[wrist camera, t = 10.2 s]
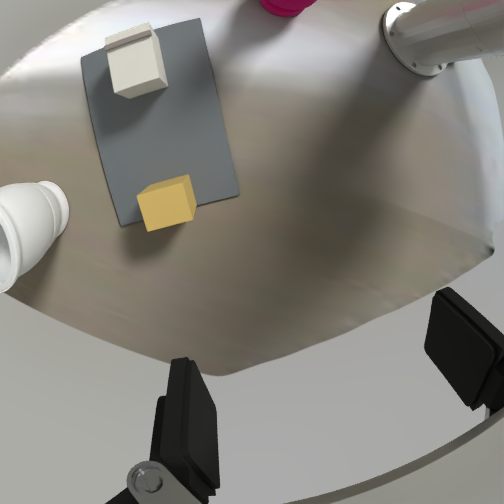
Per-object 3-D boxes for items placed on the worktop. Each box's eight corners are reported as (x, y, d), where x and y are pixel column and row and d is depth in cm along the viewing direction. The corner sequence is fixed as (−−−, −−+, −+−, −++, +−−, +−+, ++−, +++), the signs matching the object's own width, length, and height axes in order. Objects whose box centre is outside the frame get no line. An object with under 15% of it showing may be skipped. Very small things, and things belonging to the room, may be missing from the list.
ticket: (158, 38, 28) (148, 20, 22) (168, 86, 31) (159, 76, 25) (120, 51, 28) (102, 37, 22) (129, 99, 31) (112, 92, 25)
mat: (200, 18, 28) (199, 17, 28) (239, 194, 37) (239, 194, 37) (82, 58, 28) (81, 57, 27) (122, 225, 37) (121, 226, 36)
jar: (35, 160, 32) (-35, 179, 18) (87, 196, 35) (28, 232, 21) (13, 222, 34) (-49, 261, 20) (60, 257, 37) (8, 311, 23)
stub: (188, 173, 35) (182, 182, 29) (196, 204, 37) (192, 219, 30) (150, 184, 35) (136, 195, 29) (159, 214, 37) (147, 231, 30)
